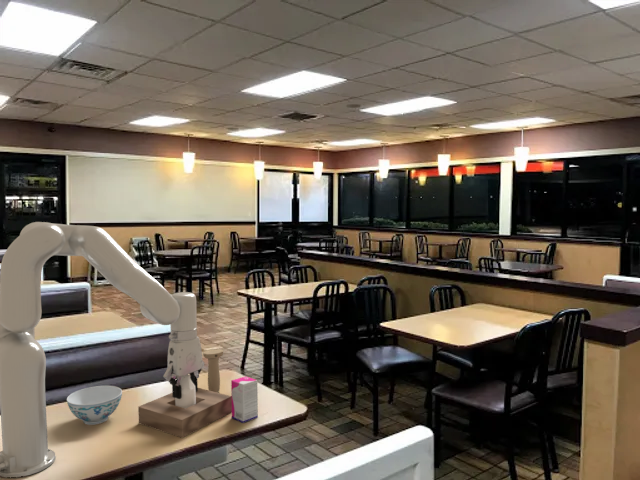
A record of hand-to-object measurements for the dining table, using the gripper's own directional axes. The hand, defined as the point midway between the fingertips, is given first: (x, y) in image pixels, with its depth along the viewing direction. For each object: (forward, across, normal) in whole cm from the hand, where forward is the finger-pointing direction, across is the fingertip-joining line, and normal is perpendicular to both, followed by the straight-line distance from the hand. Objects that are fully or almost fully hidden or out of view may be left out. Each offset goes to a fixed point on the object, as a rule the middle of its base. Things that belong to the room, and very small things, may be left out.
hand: (185, 393), depth 150 cm
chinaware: (+8, -15, +22) cm, 28 cm away
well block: (+7, 0, 0) cm, 7 cm away
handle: (+7, +17, +5) cm, 19 cm away
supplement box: (+8, +9, -15) cm, 19 cm away
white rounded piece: (+6, 0, 0) cm, 6 cm away
